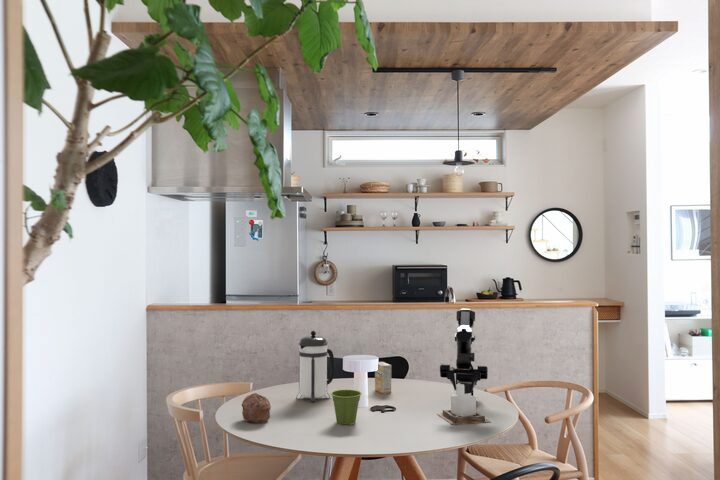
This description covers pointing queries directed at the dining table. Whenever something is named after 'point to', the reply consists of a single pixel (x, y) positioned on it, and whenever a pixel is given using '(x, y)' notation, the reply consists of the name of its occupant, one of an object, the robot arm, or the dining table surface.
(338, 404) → the plant pot
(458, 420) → the walnut dock
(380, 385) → the supplement box
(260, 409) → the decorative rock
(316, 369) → the coffee press
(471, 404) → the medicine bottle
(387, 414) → the dining table surface
